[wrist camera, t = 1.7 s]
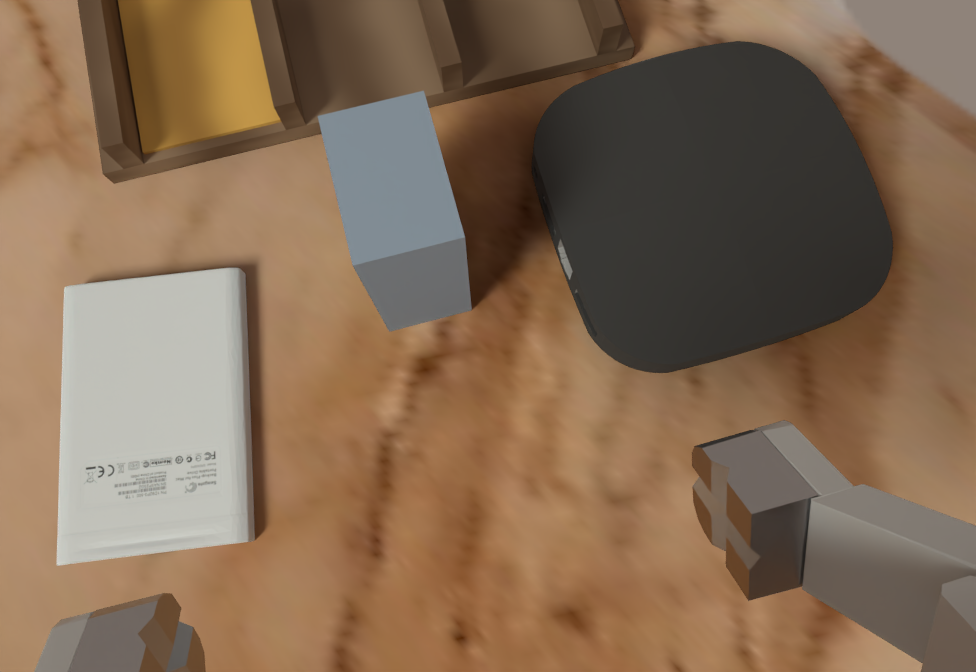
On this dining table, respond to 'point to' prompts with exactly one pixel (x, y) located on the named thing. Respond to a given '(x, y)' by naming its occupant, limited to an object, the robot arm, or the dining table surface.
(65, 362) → the external hard drive
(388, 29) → the rack
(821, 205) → the media streaming box
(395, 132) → the grey rectangular block
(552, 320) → the dining table surface
